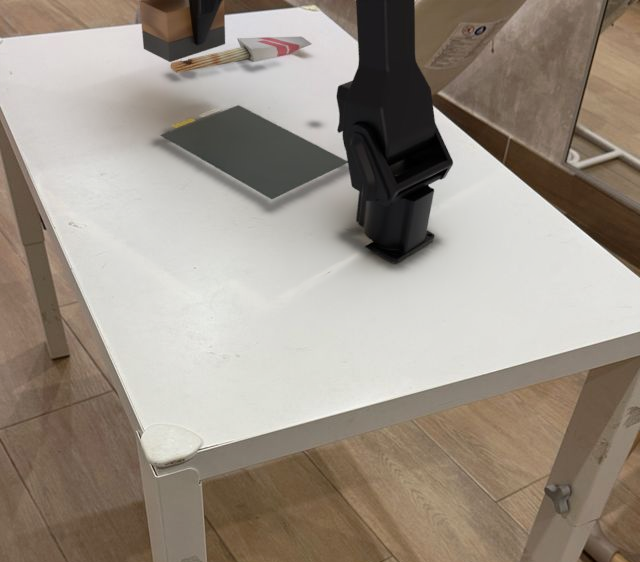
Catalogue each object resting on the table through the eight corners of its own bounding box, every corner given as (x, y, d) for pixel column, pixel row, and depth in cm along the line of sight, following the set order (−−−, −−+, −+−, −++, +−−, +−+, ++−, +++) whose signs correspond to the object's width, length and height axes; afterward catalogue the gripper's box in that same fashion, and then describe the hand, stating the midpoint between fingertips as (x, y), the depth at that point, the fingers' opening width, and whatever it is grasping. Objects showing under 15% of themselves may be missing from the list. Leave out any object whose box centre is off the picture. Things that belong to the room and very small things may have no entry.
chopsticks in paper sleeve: (314, 34, 109) (178, 65, 102) (314, 54, 111) (180, 86, 104) (300, 23, 112) (165, 53, 104) (300, 44, 114) (167, 74, 106)
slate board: (348, 170, 91) (349, 161, 90) (271, 207, 85) (271, 199, 84) (238, 112, 99) (238, 104, 98) (160, 143, 93) (160, 134, 92)
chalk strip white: (221, 109, 97) (217, 107, 97) (202, 117, 95) (197, 114, 96) (221, 117, 98) (217, 115, 98) (202, 125, 96) (198, 122, 97)
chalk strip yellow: (196, 120, 95) (191, 117, 95) (175, 127, 93) (171, 125, 94) (196, 128, 96) (191, 125, 96) (176, 135, 94) (172, 133, 94)
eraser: (225, 44, 92) (224, -4, 88) (169, 62, 87) (166, 13, 84) (199, 32, 94) (197, -15, 90) (143, 49, 89) (139, 0, 86)
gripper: (47, -140, 79) (73, 29, 90) (172, -96, 70) (183, 85, 81) (139, -153, 85) (153, 7, 96) (265, -114, 76) (264, 57, 87)
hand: (185, 37), depth 90 cm, fingers closed on eraser, 4 cm apart
